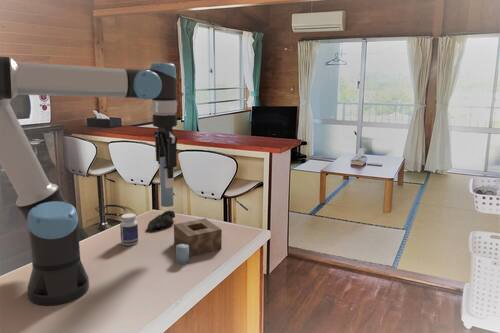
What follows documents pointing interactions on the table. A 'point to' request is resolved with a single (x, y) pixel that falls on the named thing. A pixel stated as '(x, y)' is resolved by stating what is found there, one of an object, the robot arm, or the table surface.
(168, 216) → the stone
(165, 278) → the table surface
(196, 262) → the table surface
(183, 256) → the grey rounded cylinder
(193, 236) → the sleeve block
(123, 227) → the pill bottle
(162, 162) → the long dowel
